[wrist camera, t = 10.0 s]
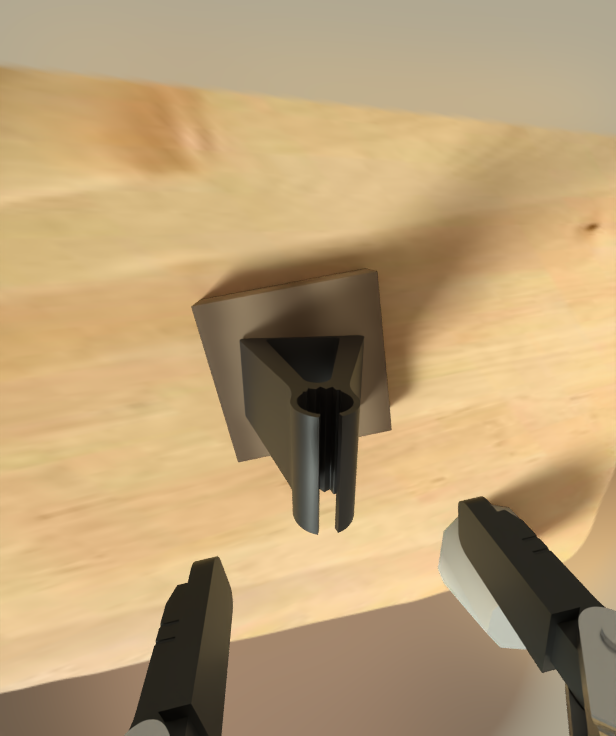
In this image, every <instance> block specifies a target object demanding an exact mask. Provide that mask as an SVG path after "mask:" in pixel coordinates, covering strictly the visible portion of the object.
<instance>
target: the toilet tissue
mask: <svg viewBox="0 0 616 736" xmlns="http://www.w3.org/2000/svg"><path fill="white" fill-rule="evenodd" d="M492 506H493V507H494V508H495V509H496V510H497V511H501V510H507V511H508V512H510V513H511V514H513V515H515V516H516V517H518V516H517V515H516V514H515V513H514V512H513V511H512V510H511V509H510V508H508V507H502V506H496V505H492ZM438 570H439V573H440V575H441V578H442V580H443V583H444V584H445V585H446V586H447V587H448V588H449V590H450V591H451V592H452V593H453V594H454V595H455V597H456V598H457V599H458V600H459V601H460V602H461V603H462V605H463V606H464V607H465V608H466V609H467V611H468V612H469V613H470V614H471V615H472V616H473V618H474V619H475V620H476V621H477V622H478V623H479V625H480V626H481V627H482V628H483V629H484V630H485V632H486V633H487V634H488V635H489V636H490V637H491V638H492V639H493V640H494V641H495V642H496V644H497V645H499V647H503V648H515V649H526V647H525V646H524V644H523V643H522V641H521V640H520V638H519V637H518V635H517V634H516V632H515V630H514V629H513V627H512V626H511V624H510V623H509V621H508V620H507V618H506V617H505V615H504V613H503V612H502V610H501V609H500V607H499V606H498V604H497V603H496V601H495V600H494V598H493V596H492V595H491V593H490V592H489V590H488V589H487V587H486V586H485V584H484V583H483V581H482V579H481V578H480V576H479V575H478V573H477V572H476V570H475V569H474V567H473V566H472V564H471V562H470V561H469V559H468V558H467V556H466V555H465V553H464V551H463V549H462V546H461V544H460V540H459V535H458V517H457V518H456V519H455V520H454V521H453V522H452V523H451V524H450V525H449V526H448V527H447V528H446V530H445V531H444V533H443V540H442V546H441V552H440V558H439V565H438Z"/></svg>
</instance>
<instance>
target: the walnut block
mask: <svg viewBox="0 0 616 736" xmlns="http://www.w3.org/2000/svg"><path fill="white" fill-rule="evenodd" d="M191 307H192V311H193V314H194V317H195V321H196V324H197V327H198V331H199V334H200V337H201V340H202V344H203V347H204V350H205V354H206V357H207V360H208V364H209V367H210V370H211V374H212V377H213V380H214V384H215V387H216V390H217V394H218V397H219V400H220V403H221V407H222V410H223V413H224V417H225V420H226V423H227V427H228V430H229V433H230V437H231V440H232V443H233V447H234V450H235V453H236V456H237V460H238V462H242V461H247V460H252V459H257V458H261V457H266V456H271V455H270V454H269V452H268V450H267V449H266V447H265V446H264V444H263V443H262V441H261V439H260V438H259V436H258V435H257V433H256V432H255V430H254V428H253V427H252V425H251V424H250V422H249V421H248V419H247V418H246V416H245V405H244V392H243V380H242V367H241V354H240V341H239V340H240V339H248V338H280V337H302V338H303V337H313V336H346V335H362V336H364V349H363V366H362V383H361V400H360V418H359V435H358V437H361V436H366V435H371V434H376V433H380V432H385V431H390V430H392V429H391V418H390V406H389V395H388V384H387V373H386V362H385V351H384V340H383V329H382V318H381V307H380V296H379V285H378V274H377V271H374V270H370V269H360V270H355V271H350V272H344V273H339V274H334V275H329V276H323V277H318V278H313V279H307V280H302V281H297V282H292V283H286V284H281V285H276V286H270V287H265V288H260V289H255V290H249V291H244V292H239V293H233V294H228V295H223V296H218V297H212V298H207V299H202V300H199V301H198V302H197V303H195V304H194V305H193V306H191Z"/></svg>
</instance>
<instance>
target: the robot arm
mask: <svg viewBox="0 0 616 736" xmlns="http://www.w3.org/2000/svg"><path fill="white" fill-rule="evenodd" d="M458 535H459V540H460V544H461V546H462V549H463V551H464V553H465V555H466V556H467V558H468V559H469V561H470V562H471V564H472V566H473V567H474V569H475V570H476V572H477V573H478V575H479V576H480V578H481V579H482V581H483V583H484V584H485V586H486V587H487V589H488V590H489V592H490V593H491V595H492V596H493V598H494V600H495V601H496V603H497V604H498V606H499V607H500V609H501V610H502V612H503V613H504V615H505V617H506V618H507V620H508V621H509V623H510V624H511V626H512V627H513V629H514V630H515V632H516V634H517V635H518V637H519V638H520V640H521V641H522V643H523V644H524V646H525V647H526V649H527V650H528V652H529V654H530V655H531V657H532V658H533V660H534V661H535V663H536V664H537V666H538V667H539V669H540V671H541V672H542V673H544V672H547V671H551V670H555V669H556V670H557V671H558V673H559V674H560V675H561V677H562V678H563V680H564V681H565V694H566V705H567V716H568V725H569V736H616V611H614V610H612V609H608V608H606V607H604V606H603V605H602V604H601V603H600V602H599V601H597V599H596V598H595V597H594V596H593V595H592V594H591V593H590V592H589V591H588V590H587V589H586V588H585V587H584V586H583V584H582V583H581V582H579V580H578V579H577V578H576V577H575V576H574V575H573V574H572V573H571V572H570V571H569V570H568V568H567V567H566V566H565V565H564V564H563V563H562V562H561V561H560V560H559V559H558V558H557V557H556V556H555V555H554V553H553V552H552V551H549V549H548V547H547V546H546V545H545V544H544V543H543V542H542V541H541V540H540V539H539V538H537V536H536V534H535V533H534V532H533V531H532V530H531V529H530V528H529V527H528V526H527V525H526V524H525V522H524V521H523V520H521V519H519V518H518V517H516V516H515V515H513V514H511V513H510V512H508V511H507V510H501V511H497V510H496V509H495V508H494V507H493V506H492V505H491V504H490V502H489V501H488V500H487V499H486V498H484V497H482V496H481V497H476V498H472V499H468V500H463V501H460V502H459V504H458ZM232 612H233V599H232V591H231V587H230V584H229V582H228V579H227V576H226V574H225V571H224V568H223V566H222V563H221V560H220V558H219V557H218V556H217V557H212V558H208V559H204V560H199V561H195V562H194V563H193V564H192V567H191V571H190V575H189V580H188V583H185V584H180V585H177V587H176V588H175V590H174V592H173V593H172V595H171V597H170V598H169V600H168V601H167V603H166V606H165V609H164V613H163V616H162V620H161V624H160V625H161V627H160V628H159V631H158V634H157V638H156V645H155V646H154V649H153V652H152V656H151V660H150V663H149V667H148V670H147V674H146V678H145V682H144V685H143V688H142V692H141V696H140V700H139V703H138V707H137V710H136V714H135V717H134V720H133V722H132V724H131V727H130V729H129V731H128V732H127V733H126V734H125V735H124V736H221V733H222V723H223V711H224V701H225V689H226V678H227V667H228V656H229V645H230V634H231V623H232Z"/></svg>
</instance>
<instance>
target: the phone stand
mask: <svg viewBox="0 0 616 736" xmlns="http://www.w3.org/2000/svg"><path fill="white" fill-rule="evenodd" d="M239 341H240V354H241V367H242V380H243V392H244V405H245V416H246V418H247V419H248V421H249V422H250V424H251V425H252V427H253V428H254V430H255V432H256V433H257V435H258V436H259V438H260V439H261V441H262V443H263V444H264V446H265V447H266V449H267V450H268V452H269V454H270V455H271V457H272V458H273V460H274V461H275V463H276V465H277V466H278V468H279V469H280V471H281V472H282V474H283V476H284V477H285V479H286V480H287V482H288V483H289V485H290V487H291V489H292V501H293V516H294V519H295V521H296V522H297V523H298V525H299V526H300V527H302V528H303V529H304V530H306V531H308V532H310V533H313V534H317V535H318V532H319V489H320V490H322V491H323V492H326V491H327V490H329V489H330V490H331V491H332V493H333V494H336V516H335V529H336V530H337V532H338V533H339V532H341V531H343V530H344V529H346V528H347V527H348V526H349V525H350V523H351V522H352V520H353V517H354V503H355V486H356V469H357V452H358V435H359V418H360V400H361V383H362V366H363V349H364V336H362V335H346V336H313V337H303V338H302V337H280V338H248V339H240V340H239Z"/></svg>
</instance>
